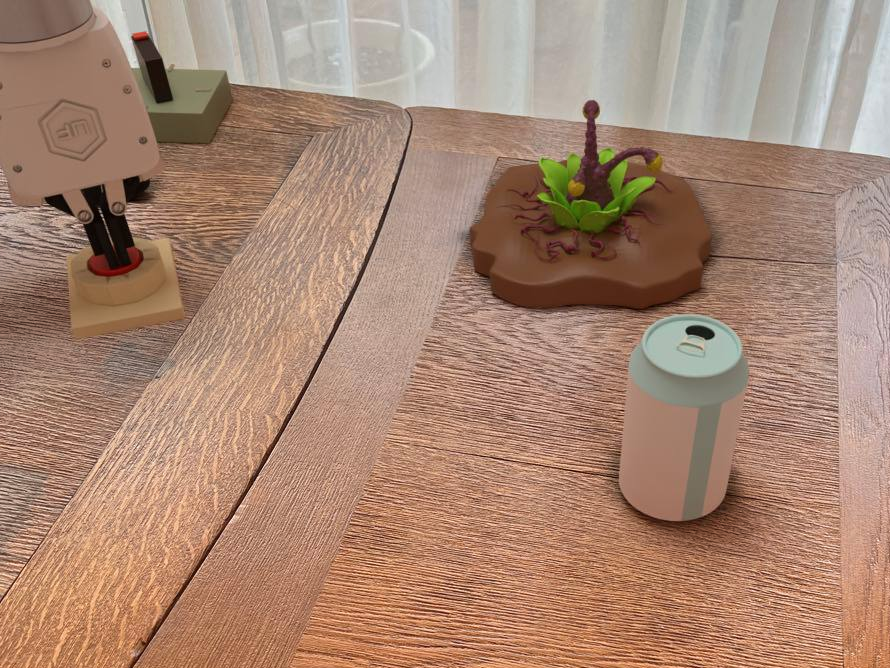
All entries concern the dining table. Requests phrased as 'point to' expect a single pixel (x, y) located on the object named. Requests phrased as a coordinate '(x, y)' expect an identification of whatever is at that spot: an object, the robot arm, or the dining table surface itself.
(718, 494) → the can
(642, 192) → the plant
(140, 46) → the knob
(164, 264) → the button box
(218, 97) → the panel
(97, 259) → the button
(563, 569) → the dining table surface
